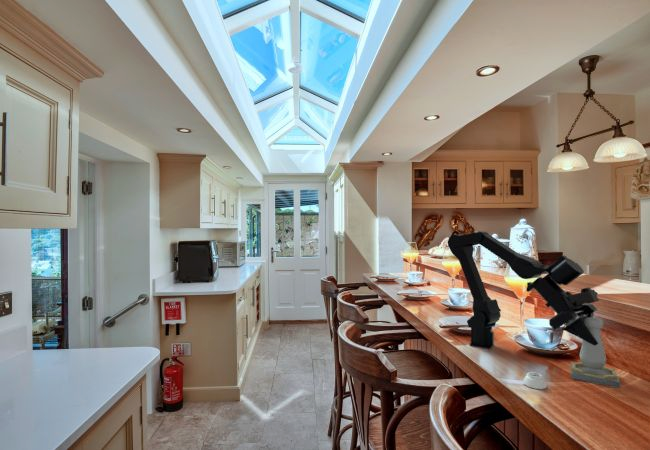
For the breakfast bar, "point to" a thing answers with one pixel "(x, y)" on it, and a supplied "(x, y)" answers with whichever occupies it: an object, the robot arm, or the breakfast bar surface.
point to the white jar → (534, 381)
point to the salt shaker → (589, 352)
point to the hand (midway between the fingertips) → (599, 343)
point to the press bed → (595, 375)
